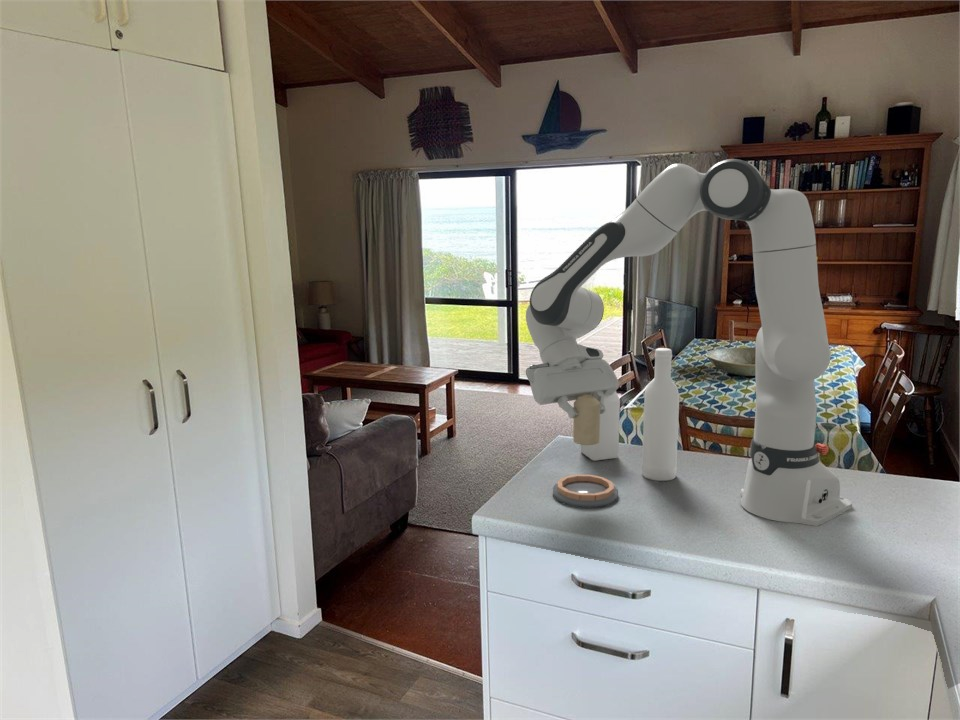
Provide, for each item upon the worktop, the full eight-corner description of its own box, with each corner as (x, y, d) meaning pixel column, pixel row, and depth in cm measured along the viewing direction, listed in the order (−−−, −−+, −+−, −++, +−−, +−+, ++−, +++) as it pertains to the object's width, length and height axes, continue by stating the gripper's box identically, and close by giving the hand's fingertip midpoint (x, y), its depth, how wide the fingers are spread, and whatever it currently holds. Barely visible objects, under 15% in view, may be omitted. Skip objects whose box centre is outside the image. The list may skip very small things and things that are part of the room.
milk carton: (580, 452, 172) (581, 381, 169) (605, 449, 174) (606, 379, 171) (593, 461, 166) (594, 387, 162) (618, 458, 168) (620, 384, 164)
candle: (598, 446, 139) (599, 399, 137) (572, 444, 140) (572, 398, 138) (599, 438, 144) (600, 393, 142) (574, 437, 145) (574, 392, 144)
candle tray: (593, 479, 154) (593, 469, 153) (631, 500, 141) (631, 489, 141) (541, 489, 148) (541, 479, 147) (576, 512, 135) (576, 501, 135)
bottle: (636, 470, 159) (640, 346, 153) (668, 468, 160) (673, 345, 154) (648, 482, 151) (653, 352, 146) (681, 480, 152) (687, 351, 146)
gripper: (528, 357, 141) (552, 413, 134) (607, 349, 149) (633, 401, 142) (518, 374, 145) (540, 428, 139) (595, 365, 154) (620, 416, 147)
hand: (588, 414), depth 141 cm, fingers closed on candle, 5 cm apart
